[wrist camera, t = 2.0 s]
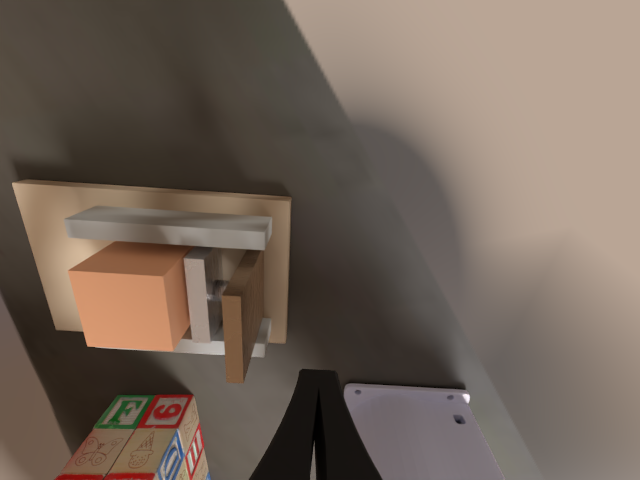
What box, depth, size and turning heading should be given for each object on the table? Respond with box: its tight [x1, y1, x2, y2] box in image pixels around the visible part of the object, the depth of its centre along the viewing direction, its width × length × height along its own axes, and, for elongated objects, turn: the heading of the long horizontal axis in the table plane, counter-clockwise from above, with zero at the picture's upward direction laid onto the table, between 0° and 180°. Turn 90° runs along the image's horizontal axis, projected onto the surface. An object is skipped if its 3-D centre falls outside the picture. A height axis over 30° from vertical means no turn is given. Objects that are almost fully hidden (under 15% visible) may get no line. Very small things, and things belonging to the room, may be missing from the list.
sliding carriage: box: [184, 246, 264, 383], centre depth 17 cm, size 4×5×6 cm
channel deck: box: [12, 179, 292, 357], centre depth 19 cm, size 16×10×4 cm, turn 86°
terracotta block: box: [68, 241, 195, 351], centre depth 18 cm, size 4×4×4 cm
